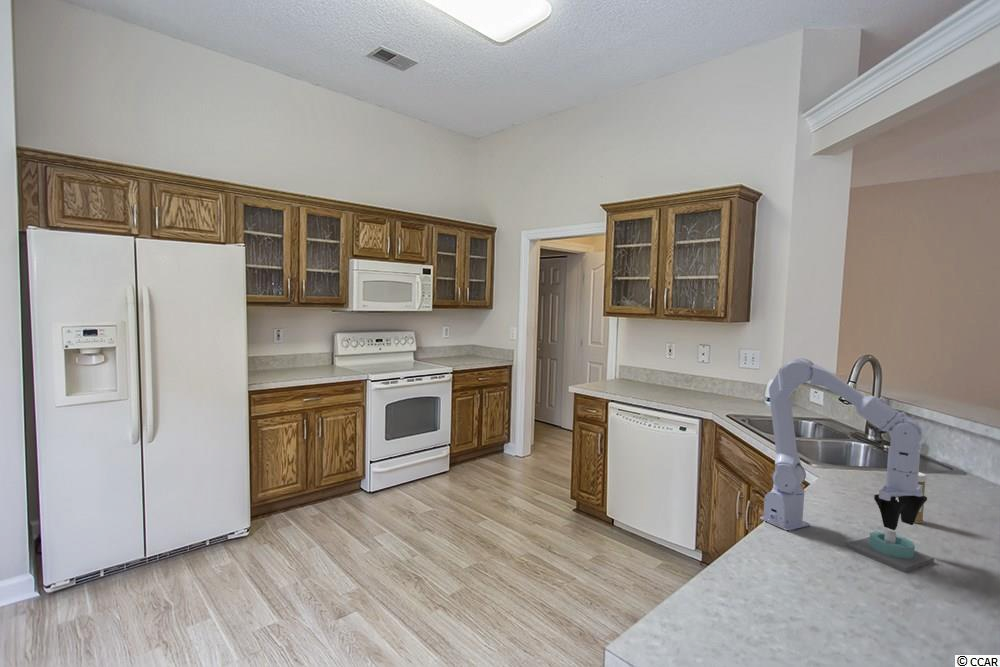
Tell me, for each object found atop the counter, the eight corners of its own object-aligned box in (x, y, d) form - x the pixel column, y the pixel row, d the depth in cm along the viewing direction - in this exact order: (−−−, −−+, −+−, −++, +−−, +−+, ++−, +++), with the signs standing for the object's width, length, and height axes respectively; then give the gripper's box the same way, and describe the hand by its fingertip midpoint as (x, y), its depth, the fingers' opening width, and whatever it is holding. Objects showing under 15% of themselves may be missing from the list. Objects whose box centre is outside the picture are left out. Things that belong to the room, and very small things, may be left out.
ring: (901, 561, 108) (902, 550, 108) (862, 544, 116) (863, 534, 116) (920, 554, 112) (921, 543, 112) (881, 539, 119) (881, 529, 119)
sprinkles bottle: (925, 521, 134) (928, 473, 133) (919, 525, 131) (923, 476, 131) (904, 515, 137) (908, 469, 137) (898, 518, 135) (902, 471, 134)
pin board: (905, 572, 105) (907, 547, 105) (846, 547, 116) (847, 525, 116) (933, 562, 110) (935, 538, 110) (874, 539, 121) (876, 517, 121)
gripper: (906, 478, 107) (901, 538, 108) (939, 471, 113) (935, 528, 114) (870, 468, 114) (866, 525, 114) (904, 462, 120) (900, 516, 120)
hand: (898, 525), depth 114 cm, fingers open, 7 cm apart
